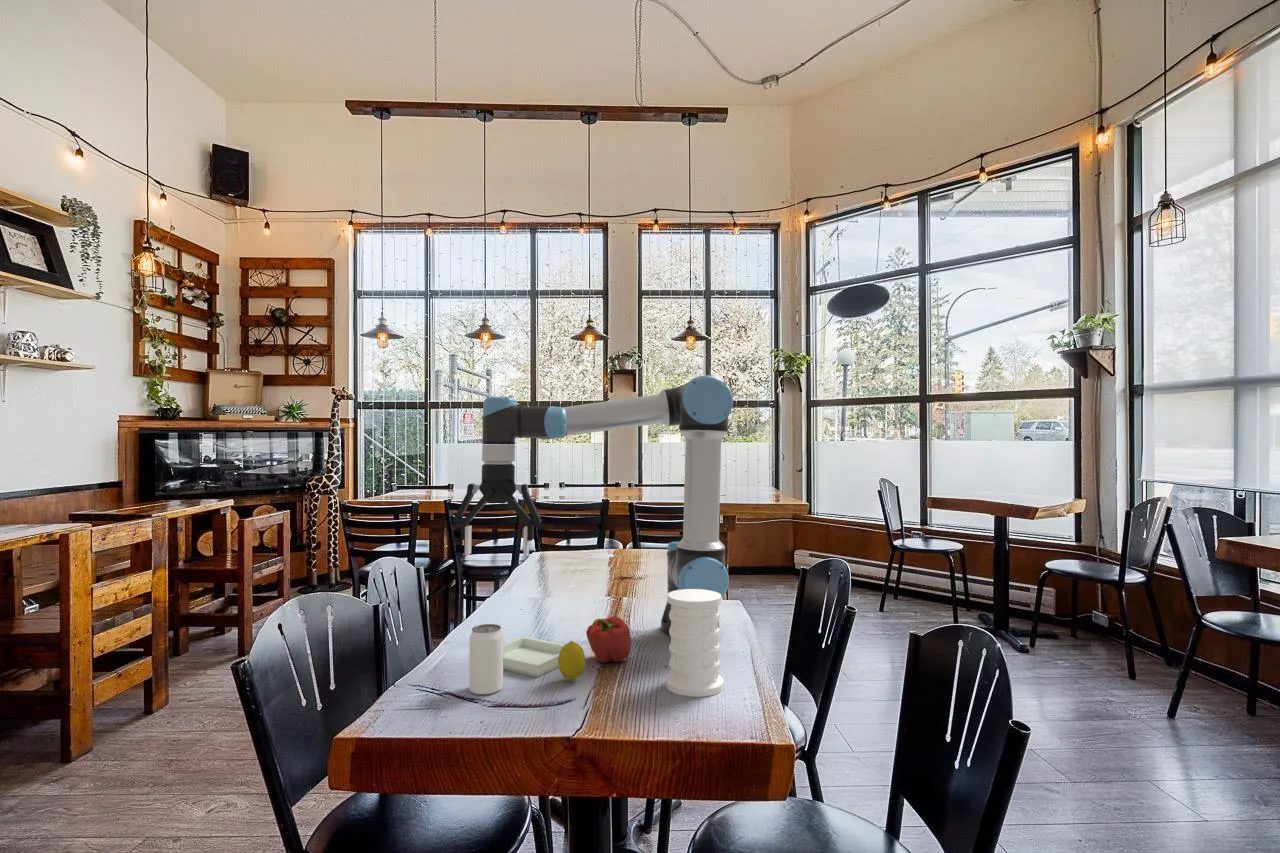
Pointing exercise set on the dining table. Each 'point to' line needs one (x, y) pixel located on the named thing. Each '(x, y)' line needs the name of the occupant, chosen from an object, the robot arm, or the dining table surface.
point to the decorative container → (694, 643)
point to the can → (486, 659)
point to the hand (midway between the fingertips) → (497, 554)
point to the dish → (531, 656)
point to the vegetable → (609, 639)
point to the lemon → (571, 660)
